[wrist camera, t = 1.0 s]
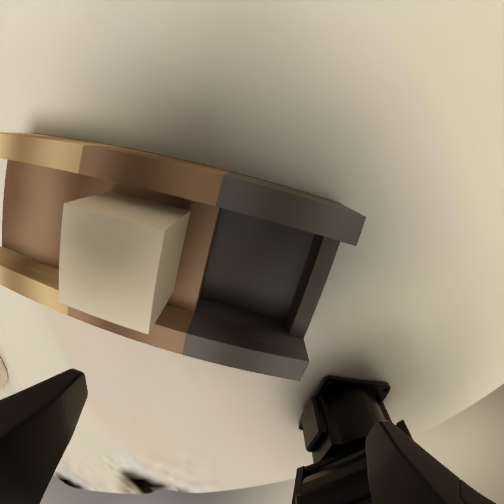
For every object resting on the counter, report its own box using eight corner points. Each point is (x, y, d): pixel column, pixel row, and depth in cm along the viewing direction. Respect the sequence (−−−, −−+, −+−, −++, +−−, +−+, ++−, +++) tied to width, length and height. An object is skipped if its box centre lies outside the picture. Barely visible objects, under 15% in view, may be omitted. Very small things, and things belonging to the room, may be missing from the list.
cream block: (190, 210, 17) (165, 230, 12) (173, 291, 18) (148, 334, 13) (110, 190, 16) (63, 203, 11) (100, 269, 18) (59, 302, 13)
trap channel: (339, 203, 19) (365, 217, 14) (291, 336, 22) (300, 380, 17) (32, 133, 17) (-12, 132, 13) (20, 254, 20) (-18, 274, 15)
